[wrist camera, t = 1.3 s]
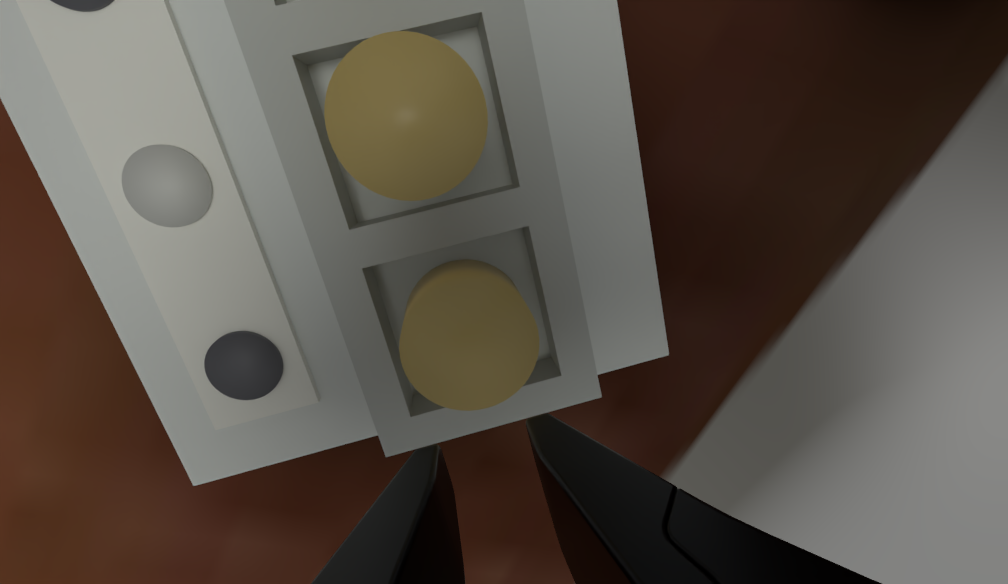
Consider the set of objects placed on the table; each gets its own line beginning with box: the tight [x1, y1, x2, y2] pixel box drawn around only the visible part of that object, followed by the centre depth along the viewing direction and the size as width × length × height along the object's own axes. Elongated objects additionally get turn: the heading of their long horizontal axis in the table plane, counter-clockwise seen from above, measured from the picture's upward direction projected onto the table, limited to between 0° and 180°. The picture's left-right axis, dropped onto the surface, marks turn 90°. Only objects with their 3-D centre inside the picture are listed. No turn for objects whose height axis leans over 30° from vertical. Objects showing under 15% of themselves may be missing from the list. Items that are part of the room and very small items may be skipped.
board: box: [0, 0, 669, 486], centre depth 15 cm, size 18×20×3 cm
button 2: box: [399, 259, 539, 411], centre depth 15 cm, size 4×4×3 cm
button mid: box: [324, 31, 488, 201], centre depth 13 cm, size 4×4×3 cm
